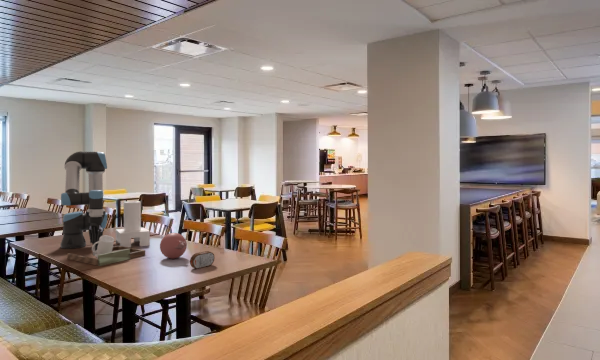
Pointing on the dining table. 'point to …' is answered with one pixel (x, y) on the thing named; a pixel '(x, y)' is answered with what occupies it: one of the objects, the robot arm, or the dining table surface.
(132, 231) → the white block stand
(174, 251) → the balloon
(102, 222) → the robot arm
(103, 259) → the wooden compartment tray
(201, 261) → the tin
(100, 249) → the mug
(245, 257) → the dining table surface
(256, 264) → the dining table surface
